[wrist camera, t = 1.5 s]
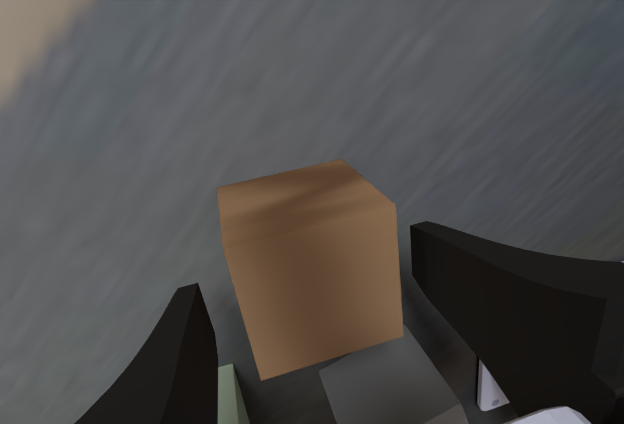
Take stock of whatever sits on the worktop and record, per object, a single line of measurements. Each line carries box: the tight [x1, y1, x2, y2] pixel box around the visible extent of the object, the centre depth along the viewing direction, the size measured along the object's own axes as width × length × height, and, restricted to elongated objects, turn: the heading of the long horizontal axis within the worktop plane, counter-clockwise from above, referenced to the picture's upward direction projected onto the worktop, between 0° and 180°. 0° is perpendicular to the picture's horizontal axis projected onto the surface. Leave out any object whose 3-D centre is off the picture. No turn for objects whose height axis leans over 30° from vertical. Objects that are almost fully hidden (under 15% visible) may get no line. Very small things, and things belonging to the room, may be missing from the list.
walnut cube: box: [217, 159, 404, 381], centre depth 14 cm, size 5×5×5 cm
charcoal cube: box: [318, 324, 469, 424], centre depth 19 cm, size 5×5×5 cm
